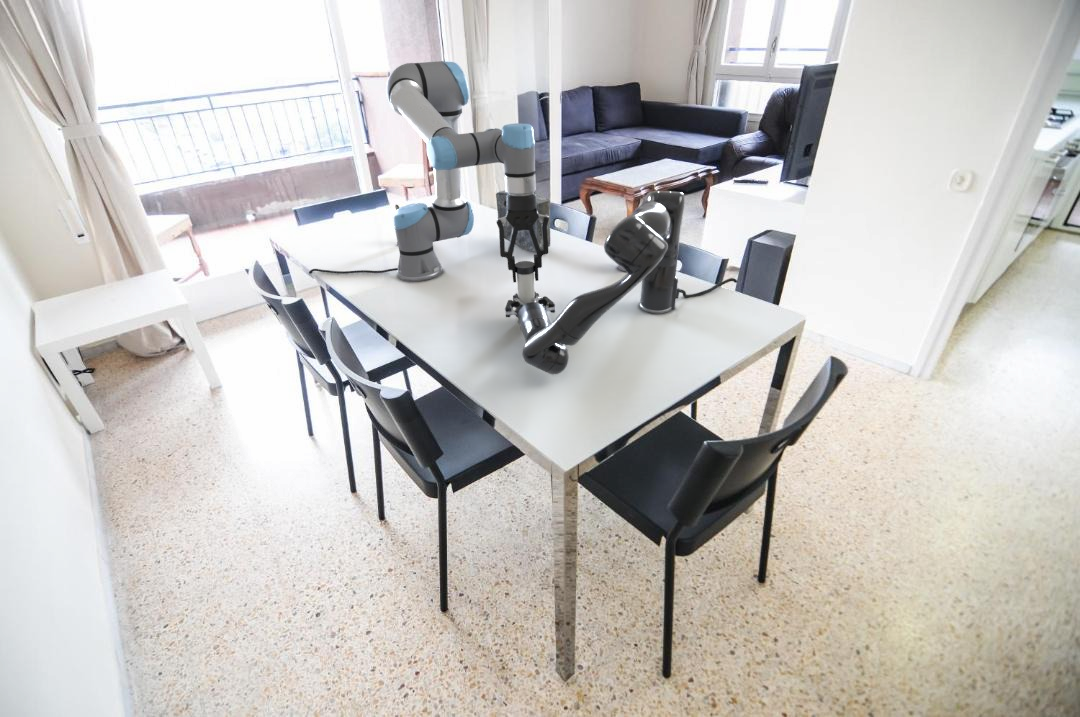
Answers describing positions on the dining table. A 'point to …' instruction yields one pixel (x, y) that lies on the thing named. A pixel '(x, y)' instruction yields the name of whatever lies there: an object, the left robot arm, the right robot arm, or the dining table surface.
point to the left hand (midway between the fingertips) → (525, 279)
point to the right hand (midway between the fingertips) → (525, 295)
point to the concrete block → (524, 235)
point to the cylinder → (526, 287)
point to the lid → (525, 267)
